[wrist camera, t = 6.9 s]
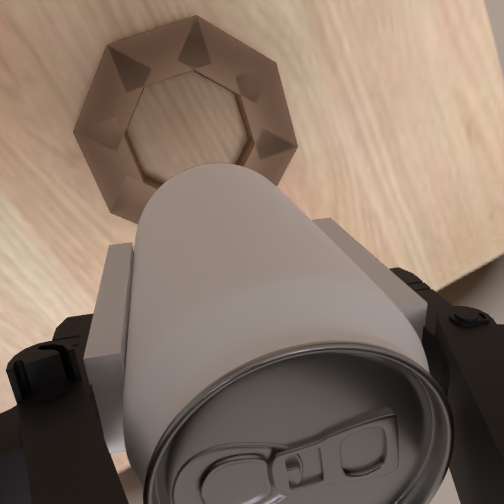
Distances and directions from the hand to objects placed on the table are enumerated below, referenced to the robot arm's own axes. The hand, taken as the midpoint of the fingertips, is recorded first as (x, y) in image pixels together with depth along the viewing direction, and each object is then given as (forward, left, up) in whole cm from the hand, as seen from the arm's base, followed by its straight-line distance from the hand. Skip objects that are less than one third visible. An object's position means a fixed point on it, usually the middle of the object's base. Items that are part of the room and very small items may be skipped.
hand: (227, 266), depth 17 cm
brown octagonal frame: (-1, +2, -20) cm, 20 cm away
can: (0, 0, -3) cm, 3 cm away
